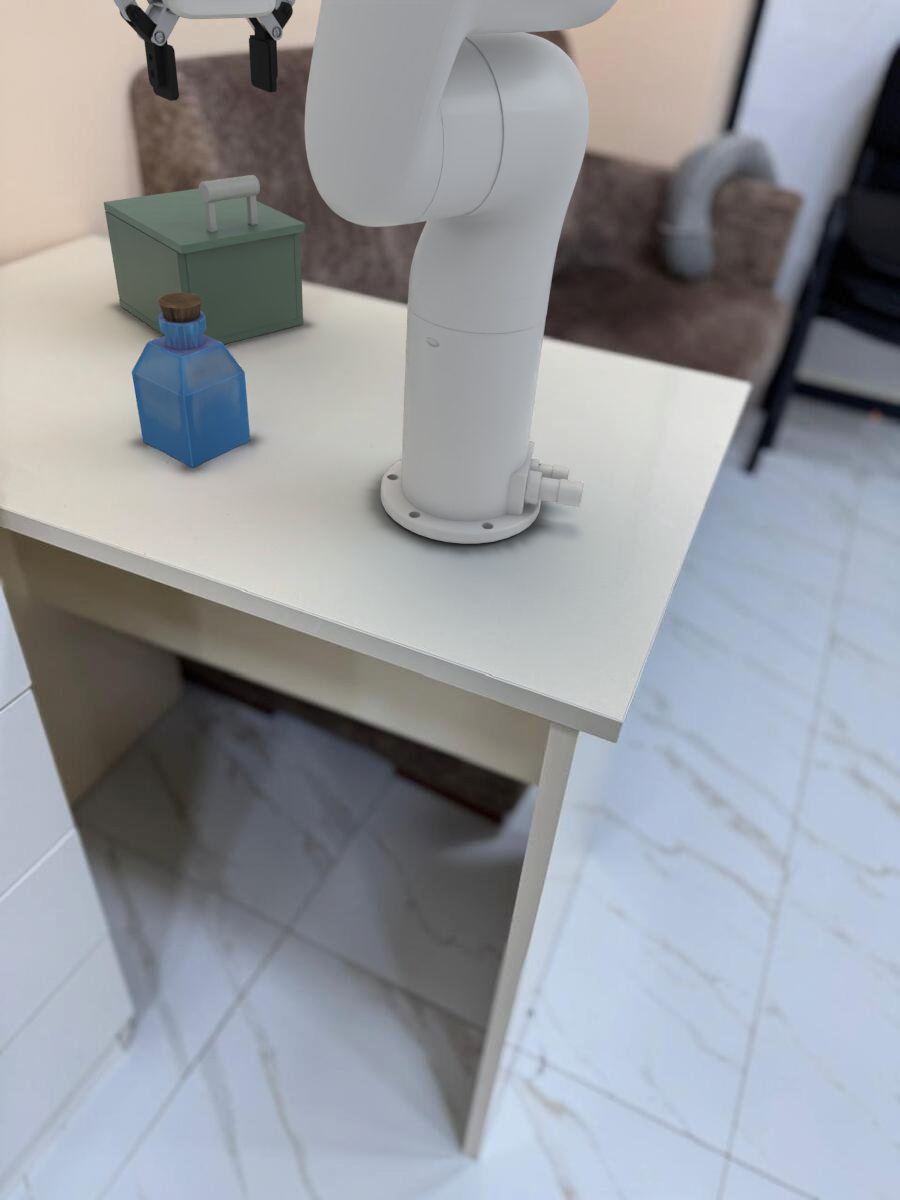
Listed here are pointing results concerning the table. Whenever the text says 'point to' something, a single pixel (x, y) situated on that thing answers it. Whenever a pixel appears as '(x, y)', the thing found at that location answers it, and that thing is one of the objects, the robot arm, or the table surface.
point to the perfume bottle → (189, 387)
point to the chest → (211, 281)
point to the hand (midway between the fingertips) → (216, 93)
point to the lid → (206, 215)
